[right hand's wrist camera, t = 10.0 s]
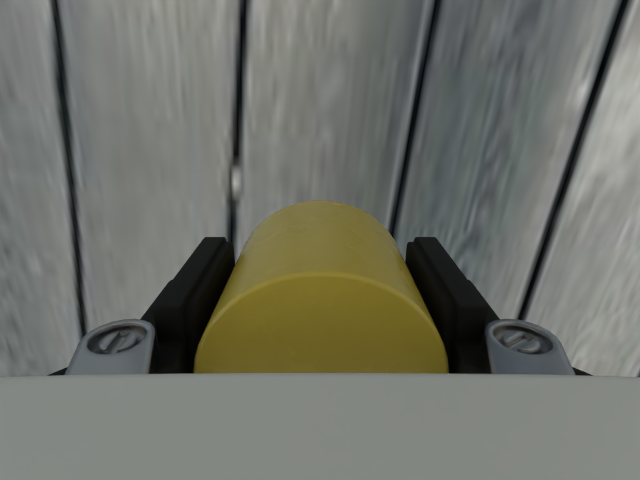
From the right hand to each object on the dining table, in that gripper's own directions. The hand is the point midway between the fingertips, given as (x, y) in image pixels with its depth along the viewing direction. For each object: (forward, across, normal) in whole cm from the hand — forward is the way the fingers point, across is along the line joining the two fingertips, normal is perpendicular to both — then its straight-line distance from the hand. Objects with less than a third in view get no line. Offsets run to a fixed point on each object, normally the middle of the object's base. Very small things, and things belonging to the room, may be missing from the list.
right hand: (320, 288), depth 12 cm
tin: (0, 0, 0) cm, 0 cm away
